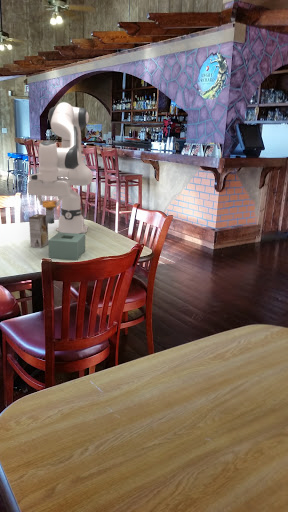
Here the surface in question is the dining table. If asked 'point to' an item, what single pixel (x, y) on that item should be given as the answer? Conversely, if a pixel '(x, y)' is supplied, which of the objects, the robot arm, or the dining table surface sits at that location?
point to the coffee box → (38, 231)
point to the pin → (49, 210)
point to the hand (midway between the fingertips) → (49, 205)
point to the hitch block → (66, 246)
